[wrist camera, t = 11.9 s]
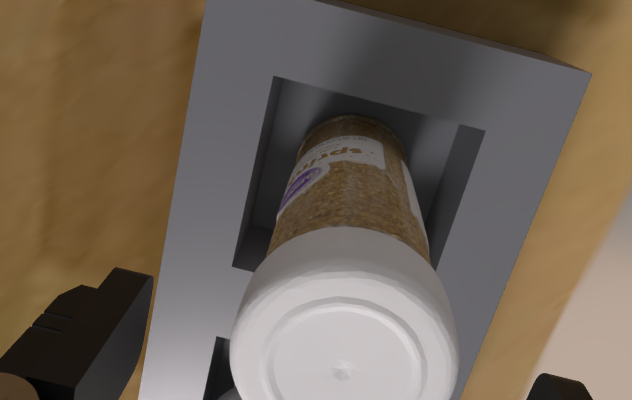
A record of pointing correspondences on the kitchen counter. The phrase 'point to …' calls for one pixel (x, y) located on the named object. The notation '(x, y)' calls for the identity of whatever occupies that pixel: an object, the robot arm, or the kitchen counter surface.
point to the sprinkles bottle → (346, 282)
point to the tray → (318, 106)
